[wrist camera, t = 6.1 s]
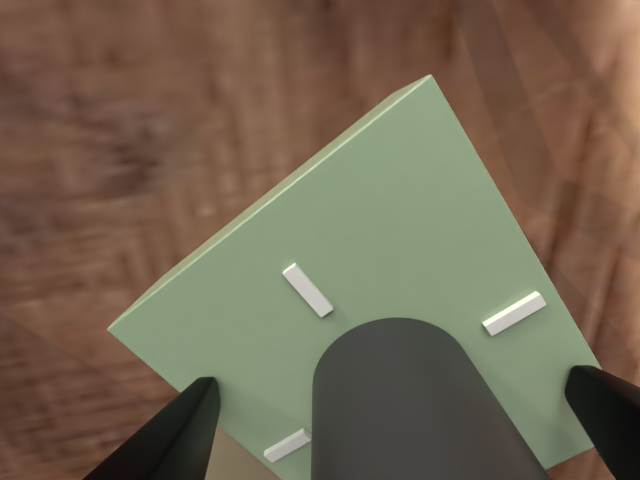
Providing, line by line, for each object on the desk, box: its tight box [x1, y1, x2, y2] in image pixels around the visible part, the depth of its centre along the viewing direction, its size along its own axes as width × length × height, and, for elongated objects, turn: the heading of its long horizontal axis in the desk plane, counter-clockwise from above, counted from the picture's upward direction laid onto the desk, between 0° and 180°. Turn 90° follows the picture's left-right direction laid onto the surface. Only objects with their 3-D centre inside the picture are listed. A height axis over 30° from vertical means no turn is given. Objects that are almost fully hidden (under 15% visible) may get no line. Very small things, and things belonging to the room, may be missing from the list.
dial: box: [311, 317, 551, 480], centre depth 6 cm, size 4×4×4 cm
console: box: [107, 75, 602, 480], centre depth 9 cm, size 11×9×3 cm
